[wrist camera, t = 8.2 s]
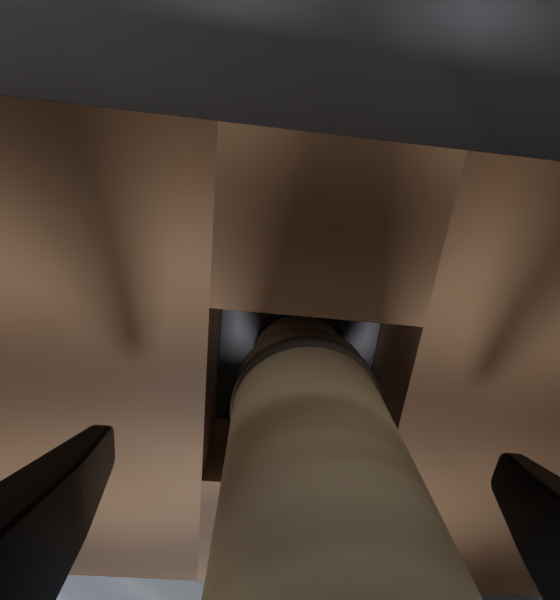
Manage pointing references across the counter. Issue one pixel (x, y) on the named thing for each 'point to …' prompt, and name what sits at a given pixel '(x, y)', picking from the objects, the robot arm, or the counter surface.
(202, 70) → the counter surface
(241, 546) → the birch peg
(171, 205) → the walnut board
